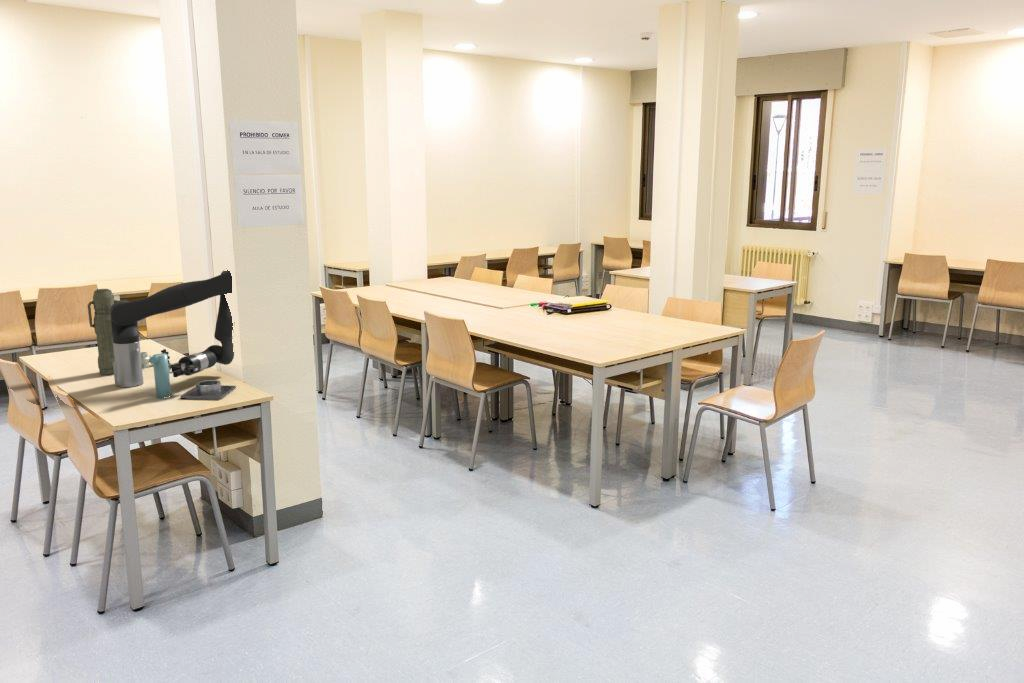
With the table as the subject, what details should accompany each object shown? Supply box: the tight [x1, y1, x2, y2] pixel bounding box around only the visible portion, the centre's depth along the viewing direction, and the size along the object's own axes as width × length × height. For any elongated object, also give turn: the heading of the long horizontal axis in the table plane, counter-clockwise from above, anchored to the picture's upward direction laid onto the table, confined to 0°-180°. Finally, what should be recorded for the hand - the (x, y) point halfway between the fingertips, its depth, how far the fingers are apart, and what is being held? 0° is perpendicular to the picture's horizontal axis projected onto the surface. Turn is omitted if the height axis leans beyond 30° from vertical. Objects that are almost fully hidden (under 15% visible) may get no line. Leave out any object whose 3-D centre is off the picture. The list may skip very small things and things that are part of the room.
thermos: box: [87, 288, 118, 376], centre depth 319 cm, size 9×12×35 cm
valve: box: [140, 348, 171, 370], centre depth 334 cm, size 7×7×12 cm
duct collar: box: [179, 379, 237, 400], centre depth 293 cm, size 15×15×4 cm
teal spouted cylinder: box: [149, 353, 172, 399], centre depth 287 cm, size 7×5×16 cm
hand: (164, 373), depth 289 cm, fingers open, 8 cm apart
